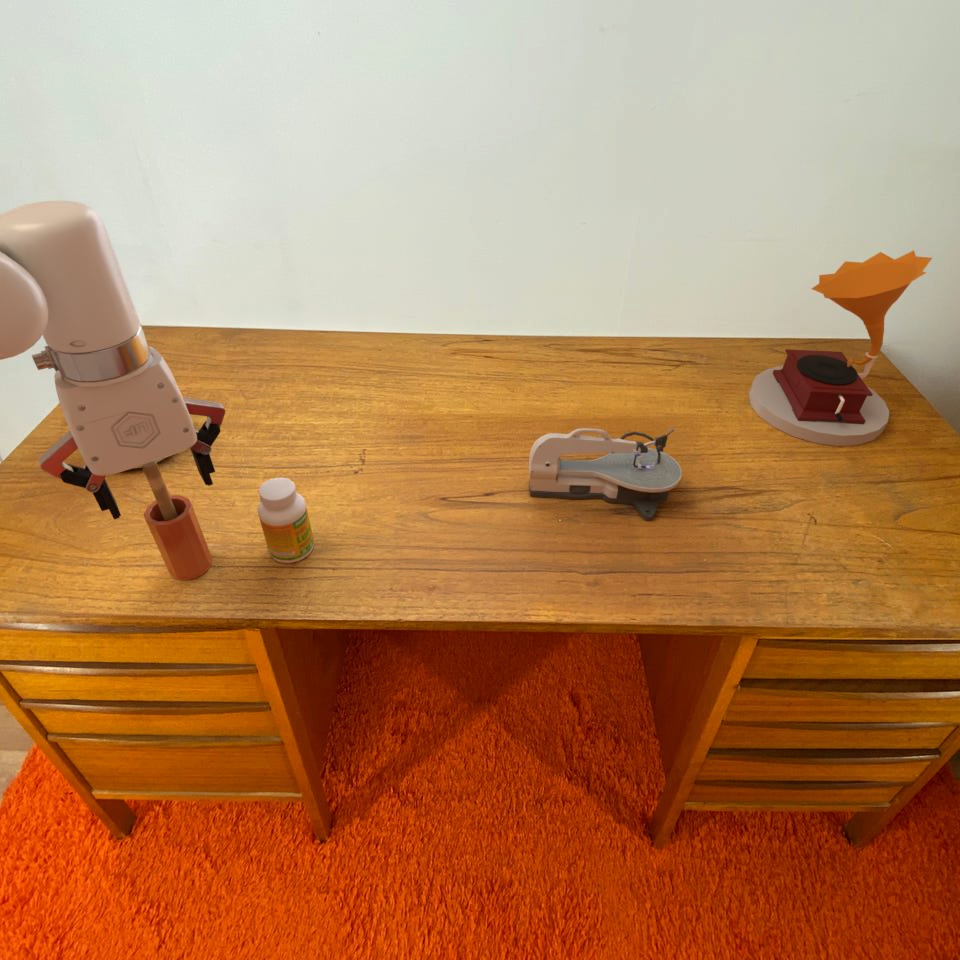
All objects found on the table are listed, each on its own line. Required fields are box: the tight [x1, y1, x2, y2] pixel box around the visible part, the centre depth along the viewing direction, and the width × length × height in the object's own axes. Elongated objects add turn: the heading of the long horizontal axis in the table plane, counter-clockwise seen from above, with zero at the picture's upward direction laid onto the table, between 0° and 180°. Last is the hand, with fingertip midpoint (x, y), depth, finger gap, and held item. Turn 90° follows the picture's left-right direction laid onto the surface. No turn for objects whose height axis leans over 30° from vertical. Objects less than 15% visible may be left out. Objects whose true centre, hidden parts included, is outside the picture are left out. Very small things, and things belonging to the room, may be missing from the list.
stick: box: [141, 461, 178, 521], centre depth 70 cm, size 1×1×15 cm
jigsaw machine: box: [528, 427, 683, 522], centre depth 84 cm, size 20×11×12 cm
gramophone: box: [748, 250, 933, 447], centre depth 95 cm, size 20×20×25 cm
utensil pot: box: [143, 494, 213, 581], centre depth 73 cm, size 5×5×9 cm
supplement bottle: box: [257, 477, 315, 564], centre depth 75 cm, size 5×5×10 cm
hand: (161, 494), depth 68 cm, fingers open, 9 cm apart
